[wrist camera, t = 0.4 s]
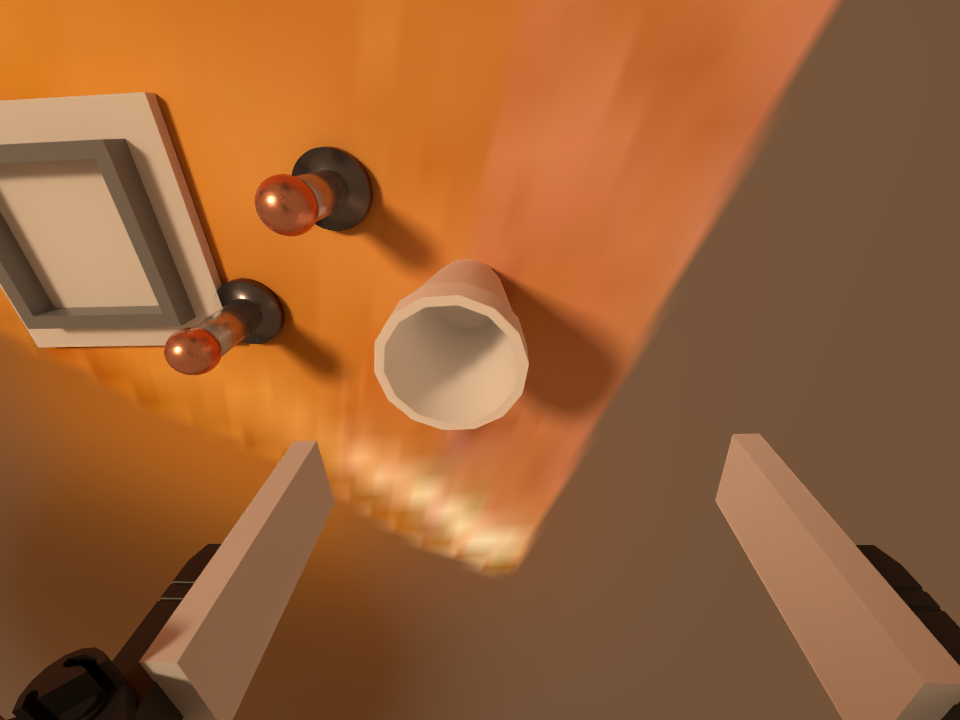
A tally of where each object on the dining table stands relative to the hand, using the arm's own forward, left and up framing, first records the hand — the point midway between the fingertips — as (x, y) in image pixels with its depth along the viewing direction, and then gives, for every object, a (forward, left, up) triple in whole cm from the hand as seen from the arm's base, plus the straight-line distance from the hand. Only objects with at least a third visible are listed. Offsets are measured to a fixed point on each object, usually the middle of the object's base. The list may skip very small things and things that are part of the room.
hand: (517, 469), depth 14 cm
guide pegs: (-1, -19, -25) cm, 31 cm away
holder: (-3, -36, -25) cm, 44 cm away
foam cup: (+3, -4, -25) cm, 25 cm away
